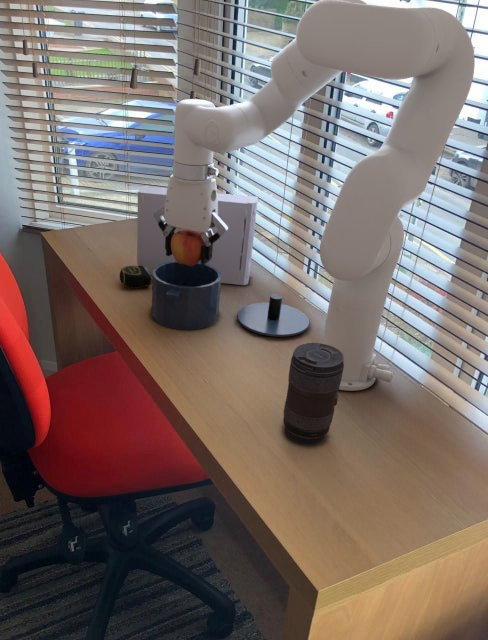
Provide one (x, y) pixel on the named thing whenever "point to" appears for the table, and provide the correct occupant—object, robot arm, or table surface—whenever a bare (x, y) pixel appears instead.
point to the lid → (273, 318)
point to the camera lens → (312, 392)
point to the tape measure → (134, 276)
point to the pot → (185, 295)
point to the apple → (187, 247)
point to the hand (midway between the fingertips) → (188, 257)
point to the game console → (227, 250)
